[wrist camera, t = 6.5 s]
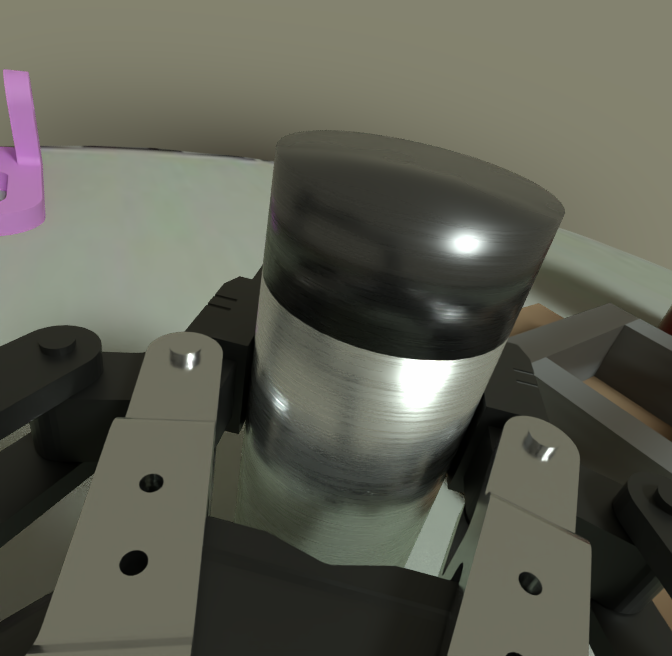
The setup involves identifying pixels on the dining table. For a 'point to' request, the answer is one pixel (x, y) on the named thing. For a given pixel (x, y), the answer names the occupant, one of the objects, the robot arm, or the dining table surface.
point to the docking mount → (605, 390)
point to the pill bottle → (377, 333)
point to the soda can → (666, 322)
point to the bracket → (21, 160)
